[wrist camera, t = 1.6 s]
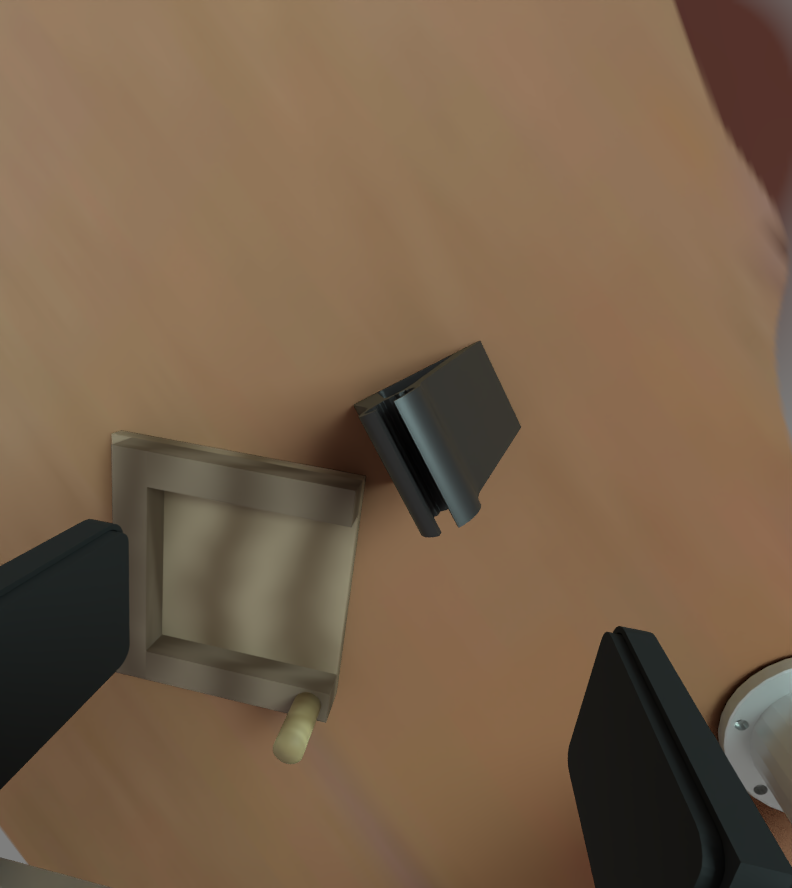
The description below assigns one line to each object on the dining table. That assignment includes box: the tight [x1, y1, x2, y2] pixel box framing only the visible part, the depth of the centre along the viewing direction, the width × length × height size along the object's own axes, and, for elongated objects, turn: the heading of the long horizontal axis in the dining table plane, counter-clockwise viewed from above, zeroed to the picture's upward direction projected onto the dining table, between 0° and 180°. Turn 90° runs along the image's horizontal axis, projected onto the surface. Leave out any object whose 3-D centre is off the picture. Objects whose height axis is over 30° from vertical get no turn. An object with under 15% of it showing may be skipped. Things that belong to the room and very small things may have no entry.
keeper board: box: [111, 430, 366, 764], centre depth 33 cm, size 18×18×7 cm
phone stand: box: [354, 341, 521, 537], centre depth 26 cm, size 9×6×12 cm, turn 117°
